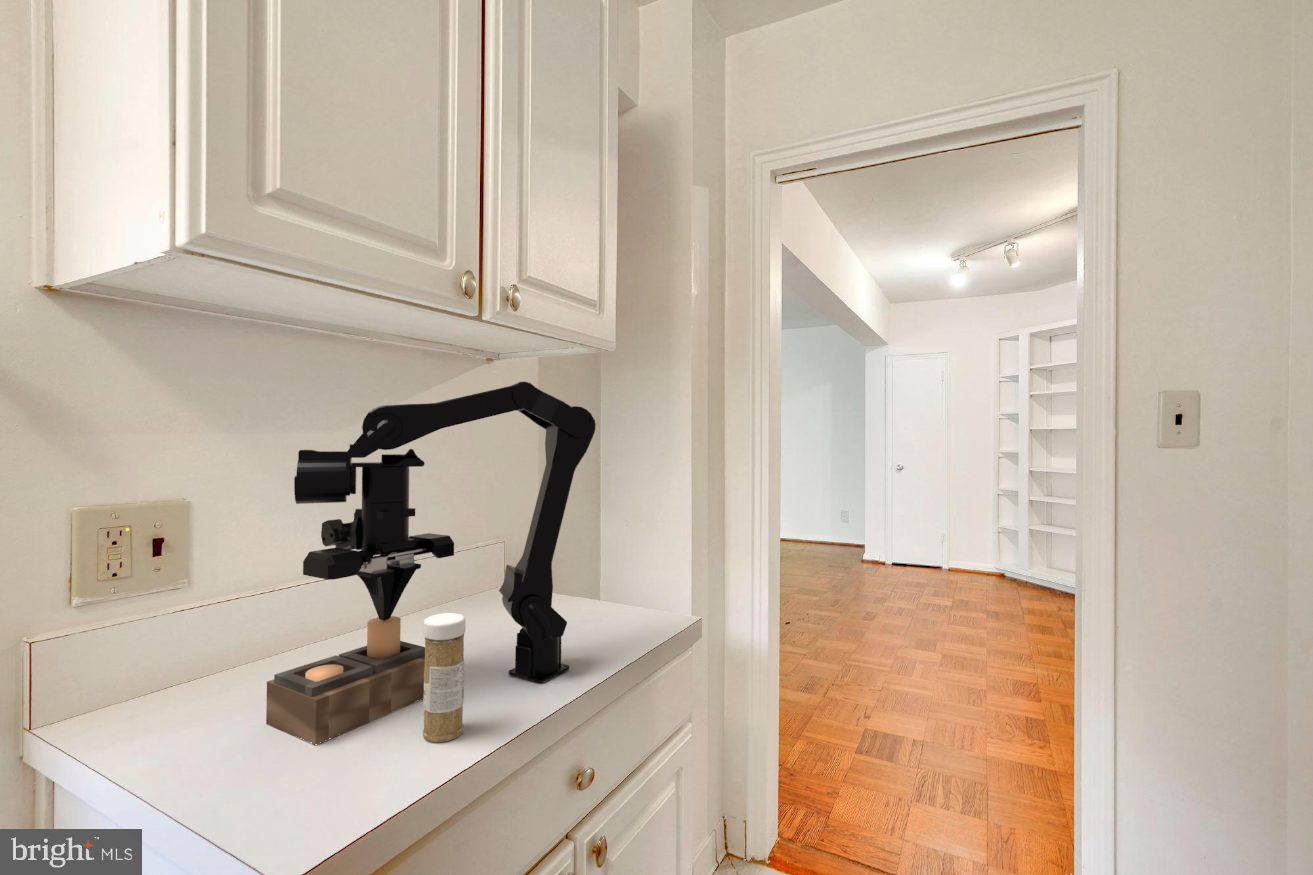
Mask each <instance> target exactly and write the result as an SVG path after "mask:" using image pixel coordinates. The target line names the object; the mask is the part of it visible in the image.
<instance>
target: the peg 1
mask: <svg viewBox="0 0 1313 875" xmlns="http://www.w3.org/2000/svg"><path fill="white" fill-rule="evenodd" d="M341 673H343V666H341V665H323V666H318V667H315V668H312V669H310V670H308V671H307V672H306V674H305V678H307V679H310V680H313V681H315V682H317V681H320V680H323V679H326V678H329V677H332V676H335V675H338V674H341Z"/></svg>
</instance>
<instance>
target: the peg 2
mask: <svg viewBox="0 0 1313 875" xmlns="http://www.w3.org/2000/svg"><path fill="white" fill-rule="evenodd" d="M401 620H402V618H401V617H399V616H393V615H391V617H390V619H388V620H380V619H379V617H378V616H377V617H375V618H371V619H369V620H368V621H367V624H366V626H367V627H366V629H367V633H366V634H367V635H366V638H367V640H366V646H367V657H369V658H372V659H376V660H381V659H384V658H387V657H390V656H393V655H396V654H399V653H400V641H401V628H402V627H401V622H402V621H401Z"/></svg>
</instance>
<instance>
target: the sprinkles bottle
mask: <svg viewBox="0 0 1313 875" xmlns="http://www.w3.org/2000/svg"><path fill="white" fill-rule="evenodd" d="M465 634H466V617H465V616H464V615H463V614H460V613H454V612H445V613H444V612H443V613H438V614H437V613H436V614H434V615H431V616H428V617H426V618H425V619H424V620H423V637H424V647H425V670H424V698H423V706H422V707H423V711H424V712H423V728H422V736H423V738H424V740H426V741H428V742H434V743H435V742H437V743H438V742H439V743H441V742H448V741H451V740H454V739H455V738H457V737H459V736H460V735H462V734H463V732H464V724H463V711H464V710H463V706H464V700H465V698H464V696H465V695H464V694H465V693H464V690H465V687H464V686H465V684H464V683H465V680H464V678H465V673H464V672H465V659H464V658H465V657H464V651H465V650H464V649H465V648H464V646H465V645H464V642H465V641H464V640H465V638H464V637H465Z"/></svg>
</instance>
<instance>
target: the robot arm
mask: <svg viewBox="0 0 1313 875" xmlns="http://www.w3.org/2000/svg"><path fill="white" fill-rule="evenodd" d="M514 411H515V412H516V411H517V412H519V413H520V414H522V415H524V416H525V417H527V419H529V420H530V421H532V422H533V423H534V424H536V425H537V426H539V427H540V428H543V429H544V430H545V438H544V439H545V442H544V450H545V467H544V471H543V474H542V478H541V482H540V487H539V491H538V495H537V498H536V502H535V506H534V511H533V514H532V517H531V518H532V519H531V522H530V525H529V526H530V527H529V531H528V533H527V538H526V542H525V545H524V549H523V553H522V556H521V557H520V559H519V561H518V562H517V563H516V566H512V565H509V564H506V566H505V570H504V572H505V573H504V580H503V583H502V585H501V587H500V588H499V589H498V592H499V593H500V594H501V595H502V598H501V599H502V600H501V602H502V604H503V607H504V608H505V610H506V612H507V613H508V614H509V615H510V616H511V619H512V620H514V622H515V623H516V624H518V625H519V626H520V627H521V628H520V630H519V632H517V633H516V645H515V648H514V649H515V651H514V652H515V658H514V659H515V663H514V664H515V666H514V667H513V668H511V669H509V670H508V672H507V674H508V675H509V676H513V677H517V678H519V679H520V678H521V679H525V680H528V681H531V682H535V683H539V684H542V683H545V682H548V681H549V680H551V679H554V678H555V677H556V676H559V675H561V674H562V673H564V672H567V671H569V670H570V665H569V664H566V663H562V637H563V636H564V634H565V630H566V628H567V625H568V621H567V620H566V619H565V618H564V617H562V616H561V614H559V612H558V611H556V610H555V608H553V607H552V605H553V604H552V602H553V593H554V592H553V591H554V583H553V582H554V581H553V580H554V579H553V567H552V566H553V565H552V564H553V559H554V556H555V551H556V547H557V542H558V539H559V535H560V532H561V527H562V523H563V519H564V515H565V511H566V507H567V502H568V499H569V495H570V490H571V488H572V482H573V479H574V475H575V471H576V469H577V468H578V465H579V464H580V462H581V461H582V459H583V458H584V456H585V455H586V453H587V452H588V449H589V447H590V444H591V442H592V440H593V438H594V436H595V432H596V428H597V427H596V420H595V418H594V417H593V415H592V413H591V412H590V411H589V410H588V409H586V408H585V407H582V406H577V405H574V406H571V405H569V404H568V403H565V401H563V400H561V399H558V398H557V397H554V396H552V395H551V394H548V393H547V392H545V391H543V390H541V389H540V388H537V387H536V386H535V385H533V384H532V383H531V382H528V381H519V382H517V383H514V384H512V385H509V386H508V385H507V386H504V387H500V388H497V389H491V390H487V391H483V392H482V391H481V392H478V393H473V394H470V395H464V396H461V397H456V398H451V399H446V400H444V401H443V400H442V401H439V402H438V401H437V402H431V403H405V404H389V405H379V406H377V407H375V408H372V409H371V410H369V411H368V413H367V414H366V416H365V417H364V419H363V422H362V425H361V429H362V433H361V434H360V436H359V437H358V438H357V439H356V440H355V442H354V443H353V444H352V443H350V444H349V449H348V450H347V451H346V450H345V451H343V450H342V451H340V450H339V451H335V450H333V451H330V450H329V451H328V450H327V451H323V450H321V451H319V450H315V449H300V450H299V451H298V456H297V457H298V460H297V466H296V475H294V479H293V480H294V487H293V489H294V491H293V492H294V500H295V504H296V505H299V504H300V505H301V504H304V505H305V504H329V503H331V504H332V503H333V504H334V503H347V500H348V499H347V498H348V496H349V497H350V496H351V495H356V494H357V468H361V508H354V509H355V512H354V513H353V521H351V522H345V523H344V522H343V521H342V519H340V518H337V519H328V520H326V521H323V522H321V523H322V524H321V531H320V533H321V534H320V538H321V542H322V545H323V546H324V547H330V548H325V549H319V550H318V549H317V550H312V551H309V552H308V554H307V555H306V557H305V558H304V560H303V561H302V562H303V563H302V575H303V576H307V577H313V578H318V579H323V580H339V579H343V578H349V577H354V576H358V577H359V579H360V580H361V581H362V582H363V583H364V585H365V587H366V589H367V592H368V593H369V596H370V599H371V601H372V603H373V606H374V609H375V611H376V613H377V618H378V617H379V619H380V620H388V619H390V617H391V616H393V613H394V611H395V608H397V607H396V606H397V605H398V603H399V601H400V598H401V597H402V594H403V593H404V591H405V589H406V588H407V585H408V584H409V583H410V580H411V579H412V578H413V575H414V574H415V572H416V571H417V570H420V569H421V568H422V564H421V563H417V562H415V556H420V555H424V554H430V553H431V554H432V555H433V556H434V557H435V558H436V559H442V558H443V559H444V558H447V557H453V556H455V542H454V541H453V539H452V537H451V536H450V535H447V534H440V533H438V534H437V533H430V532H429V533H421V534H414V535H409V528H410V527H409V526H410V522H409V521H410V517H416V508H413V507H410V467H411V468H413V467H414V468H415V467H420V468H421V467H424V466H425V461H424V460H422V459H421V458H420V457H419V456H418V455H417V454H416V453H415V450H414V449H412V448H409V449H408V450H407V452H406V453H404V454H403V453H402V454H401V453H400V454H396V453H395V454H392V453H391V454H381V457H380V460H381V461H376V462H374V461H373V462H371V461H370V462H369V461H368V462H366V461H365V462H353V460H352V459H354V458H356V459H359V458H362V459H363V458H366V457H368V456H369V455H371V454H373V453H375V452H376V451H378V450H383V451H387V450H388V451H389V450H395V449H398V448H400V447H402V446H405V445H407V444H409V443H411V442H414V441H416V440H418V439H421V438H424V437H425V436H427V435H430V434H432V433H434V432H436V431H438V430H442V429H445V428H446V429H447V428H449V427H452V426H458V425H461V424H466V423H470V422H474V421H477V420H482V419H486V418H489V417H493V416H499V415H503V414H507V413H511V412H514ZM333 546H335V547H333Z"/></svg>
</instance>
